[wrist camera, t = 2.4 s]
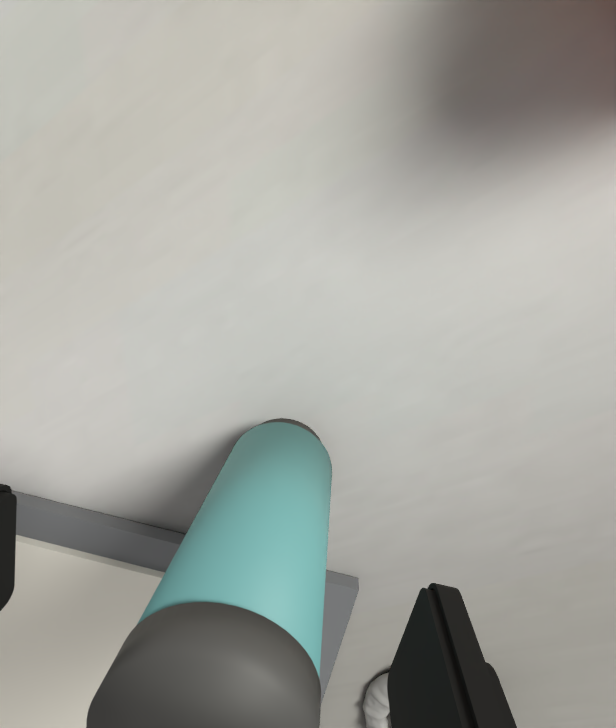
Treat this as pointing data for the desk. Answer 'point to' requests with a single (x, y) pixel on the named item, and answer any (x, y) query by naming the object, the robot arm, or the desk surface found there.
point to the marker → (236, 600)
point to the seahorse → (377, 703)
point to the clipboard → (94, 608)
